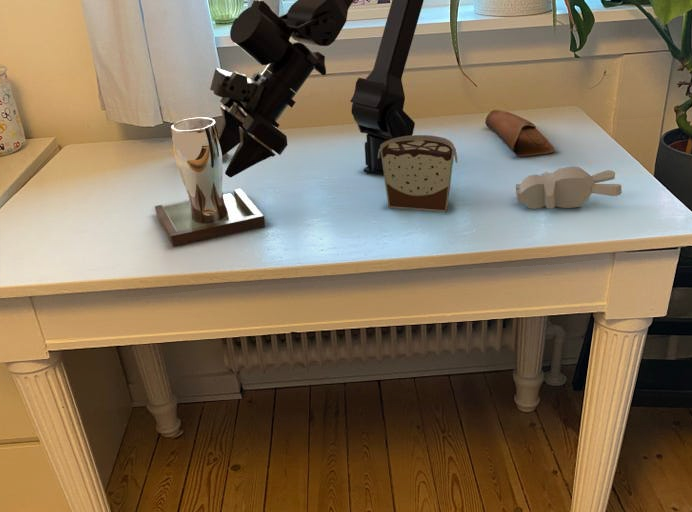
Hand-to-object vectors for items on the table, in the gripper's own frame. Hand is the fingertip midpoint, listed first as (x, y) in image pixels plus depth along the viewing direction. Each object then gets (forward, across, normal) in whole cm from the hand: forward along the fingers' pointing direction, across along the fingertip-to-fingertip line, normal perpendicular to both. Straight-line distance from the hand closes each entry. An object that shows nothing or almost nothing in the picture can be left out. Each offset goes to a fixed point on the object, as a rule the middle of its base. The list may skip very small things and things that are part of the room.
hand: (220, 166), depth 116 cm
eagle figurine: (+4, -30, +8) cm, 31 cm away
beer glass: (+8, 0, +4) cm, 9 cm away
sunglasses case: (-35, -8, +47) cm, 59 cm away
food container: (-15, +10, +27) cm, 32 cm away
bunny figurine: (-28, +21, +40) cm, 54 cm away
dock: (+8, 0, +3) cm, 9 cm away
